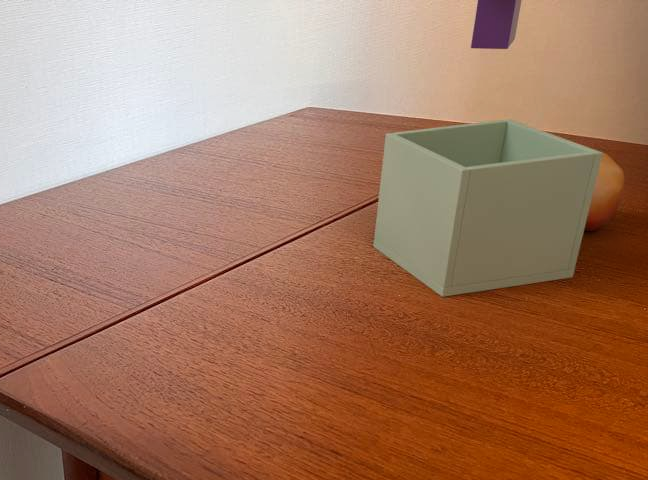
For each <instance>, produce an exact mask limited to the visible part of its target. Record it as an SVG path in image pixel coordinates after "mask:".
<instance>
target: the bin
mask: <svg viewBox="0 0 648 480" xmlns="http://www.w3.org/2000/svg"><path fill="white" fill-rule="evenodd" d="M603 153H604V152H603ZM603 153H602V151H599V150H597V149H594V148H591V147H588V146H586V145H582V144H580V143H578V142H574V141H573V140H568V139H566V138H563V137H561V136H558V135H555V134H552V133H549V132H547V131H544V130H541V129H539V128H536V127H533V126H529V125H527V124H524V123H522V122H518V121H516V120H513V119H511V118H508V119H499V120H489V121H481V122H473V123H464V124H456V125H455V124H454V125H447V126H439V127H430V128H422V129H421V128H420V129H414V130H413V129H412V130H405V131H403V130H402V131H396V132H387V133H386V134H385V139H384V148H383V156H382V166H381V175H380V183H379V192H378V202H377V209H376V210H377V211H376V220H375V227H374V237H373V245H372V247H373V248H374V249H375V250H377V251H378V252H380V253H381V254H382V255H384V256H385V257H386V258H388V259H389V260H391V261H392V262H393V263H394V264H396V265H398V266H399V267H400V268H402V269H403V270H404V271H406V272H407V273H409V274H410V275H412V276H413V277H414V278H416V280H418V281H420V282H421V283H422V284H424V285H425V286H426V287H428V288H429V289H430V290H432V291H433V292H434V293H436V294H437V295H439V296H440V297H442V298H443V297H444V298H445V297H451V296H456V295H458V296H459V295H463V294H471V293H478V292H484V291H490V290H491V291H493V290H497V289H505V288H510V287H518V286H525V285H531V284H538V283H544V282H545V283H546V282H552V281H558V280H565V279H572V278H574V275H575V270H576V265H577V261H578V257H579V253H580V249H581V245H582V240H583V236H584V232H585V231H584V228H585V224H586V220H587V216H588V212H589V208H590V204H591V200H592V196H593V191H594V187H595V183H596V179H597V175H598V171H599V167H600V163H601V158H602V154H603Z"/></svg>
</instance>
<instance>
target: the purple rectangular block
mask: <svg viewBox="0 0 648 480" xmlns="http://www.w3.org/2000/svg"><path fill="white" fill-rule="evenodd" d="M522 1H523V0H477V4H476V9H475V10H476V11H475V16H474V17H475V18H474V24H473V31H472V37H471V45H470V49H479V50H480V49H483V50H485V49H487V50H508V49H509V48H510V46H511V45H512V44H513V42H514V41H515V40H516V35H517V29H518V24H519V23H518V22H519V17H520V11H521V6H522Z"/></svg>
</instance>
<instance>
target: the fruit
mask: <svg viewBox="0 0 648 480" xmlns="http://www.w3.org/2000/svg"><path fill="white" fill-rule="evenodd" d="M601 152H602V151H601ZM602 153H603V154H602V158H601V163H600V167H599V171H598V175H597V179H596V183H595V187H594V191H593V196H592V200H591V204H590V208H589V212H588V216H587V220H586V224H585V228H584V232H593V231H596V230H599V229H601V228H603V227H604V226H606V224H607V223H608V222H610V219H611V218H612V217H613V215H614V214H615V213H616V211H617V209H619V208H618V207H619V205H620V203H621V199H622V197H623V192H624V187H625V174H624V171H623V169H622V167H621V166H619V165H618V164H617V163H616V162H615V161H614V160H613V158H612V157H611V156H610V155H608V154H606V153H605V152H602Z"/></svg>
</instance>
